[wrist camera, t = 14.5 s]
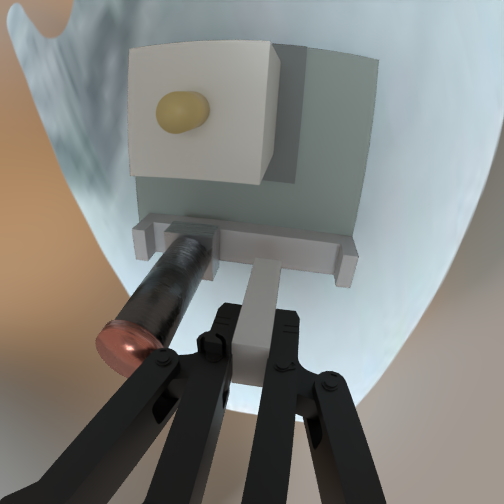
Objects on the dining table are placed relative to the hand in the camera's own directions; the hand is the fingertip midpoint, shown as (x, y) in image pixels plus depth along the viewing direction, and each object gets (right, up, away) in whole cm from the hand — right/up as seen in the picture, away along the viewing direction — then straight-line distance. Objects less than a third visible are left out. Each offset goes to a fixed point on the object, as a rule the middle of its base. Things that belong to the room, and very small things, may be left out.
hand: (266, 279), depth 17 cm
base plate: (-1, +9, +2) cm, 9 cm away
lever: (-5, +2, +3) cm, 6 cm away
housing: (-2, +11, 0) cm, 11 cm away
